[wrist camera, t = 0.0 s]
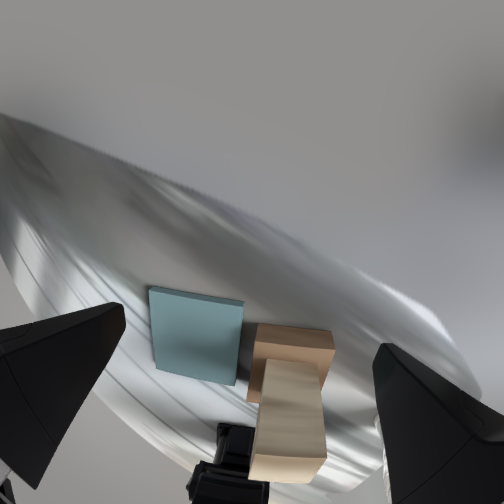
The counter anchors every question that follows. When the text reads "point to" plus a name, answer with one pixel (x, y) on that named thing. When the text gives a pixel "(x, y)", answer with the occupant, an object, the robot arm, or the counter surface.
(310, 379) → the maple block
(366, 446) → the counter surface
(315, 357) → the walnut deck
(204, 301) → the teal mat
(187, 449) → the counter surface
